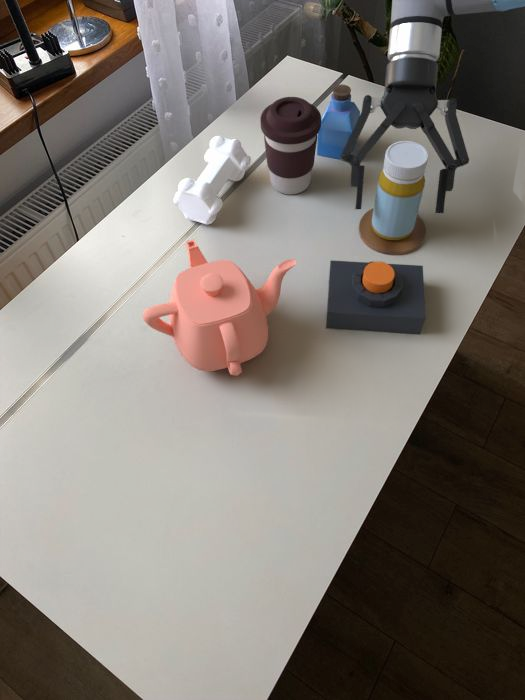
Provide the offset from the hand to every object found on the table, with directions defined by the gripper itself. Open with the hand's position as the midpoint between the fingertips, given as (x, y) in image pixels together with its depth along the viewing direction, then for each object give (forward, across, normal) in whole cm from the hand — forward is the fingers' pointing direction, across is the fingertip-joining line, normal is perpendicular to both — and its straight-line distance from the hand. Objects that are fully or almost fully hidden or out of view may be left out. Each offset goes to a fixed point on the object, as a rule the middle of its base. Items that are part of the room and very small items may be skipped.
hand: (398, 211), depth 94 cm
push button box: (+14, +3, +4) cm, 15 cm away
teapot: (+19, +25, +9) cm, 33 cm away
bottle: (+3, 0, -6) cm, 7 cm away
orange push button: (+11, +3, +8) cm, 14 cm away
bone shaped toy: (-1, +31, -11) cm, 33 cm away
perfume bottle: (-12, +10, -22) cm, 27 cm away
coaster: (+3, 0, -7) cm, 8 cm away
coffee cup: (-5, +18, -15) cm, 24 cm away
